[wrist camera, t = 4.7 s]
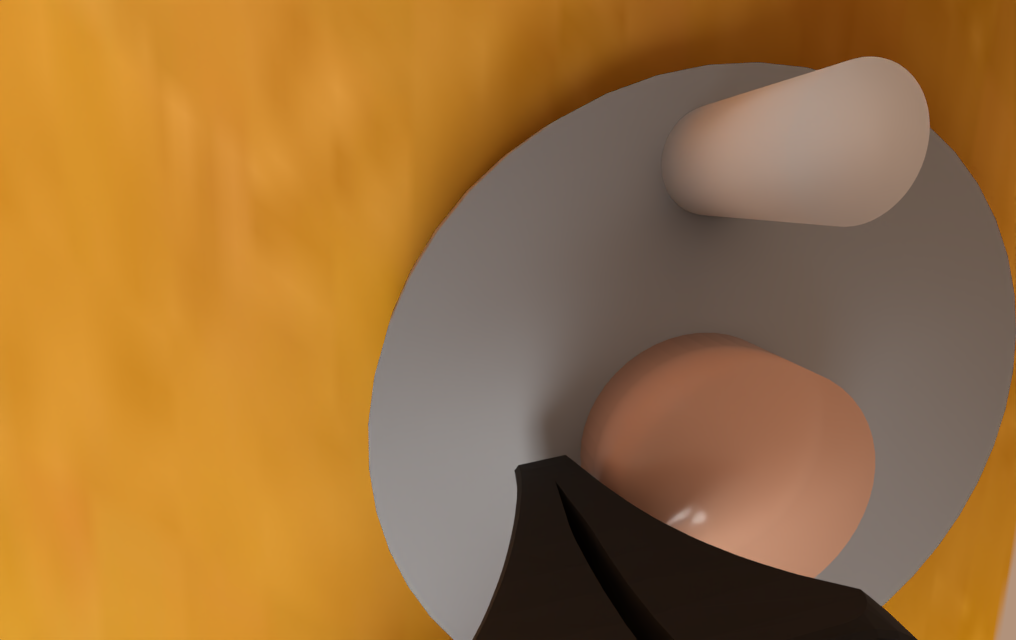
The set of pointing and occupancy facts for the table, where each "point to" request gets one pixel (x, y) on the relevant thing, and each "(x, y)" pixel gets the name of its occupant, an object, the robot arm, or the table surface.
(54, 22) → the table surface
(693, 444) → the pink rounded disc
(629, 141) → the turntable
